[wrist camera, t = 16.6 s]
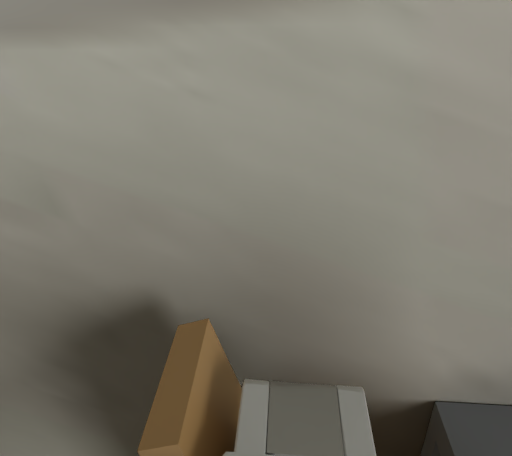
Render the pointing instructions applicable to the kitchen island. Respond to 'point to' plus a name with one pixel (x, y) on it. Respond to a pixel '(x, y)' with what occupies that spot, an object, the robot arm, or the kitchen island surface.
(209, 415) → the side door
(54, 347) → the kitchen island surface
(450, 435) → the grey box
